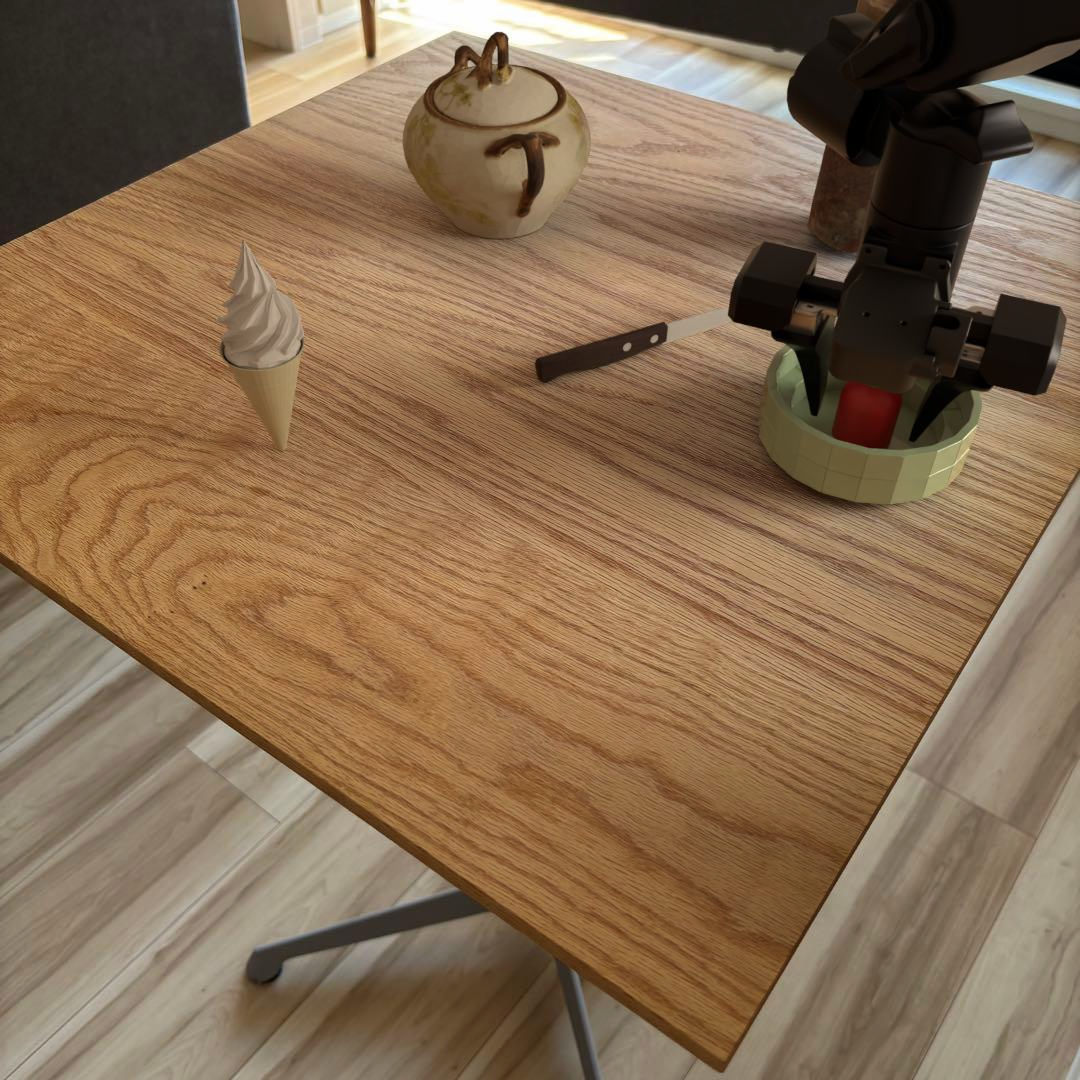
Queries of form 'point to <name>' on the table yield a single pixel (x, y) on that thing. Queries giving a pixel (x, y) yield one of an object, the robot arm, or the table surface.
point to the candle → (844, 180)
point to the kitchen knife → (625, 345)
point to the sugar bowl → (496, 143)
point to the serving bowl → (855, 468)
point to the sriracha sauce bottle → (866, 415)
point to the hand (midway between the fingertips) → (863, 425)
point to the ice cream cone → (263, 344)
